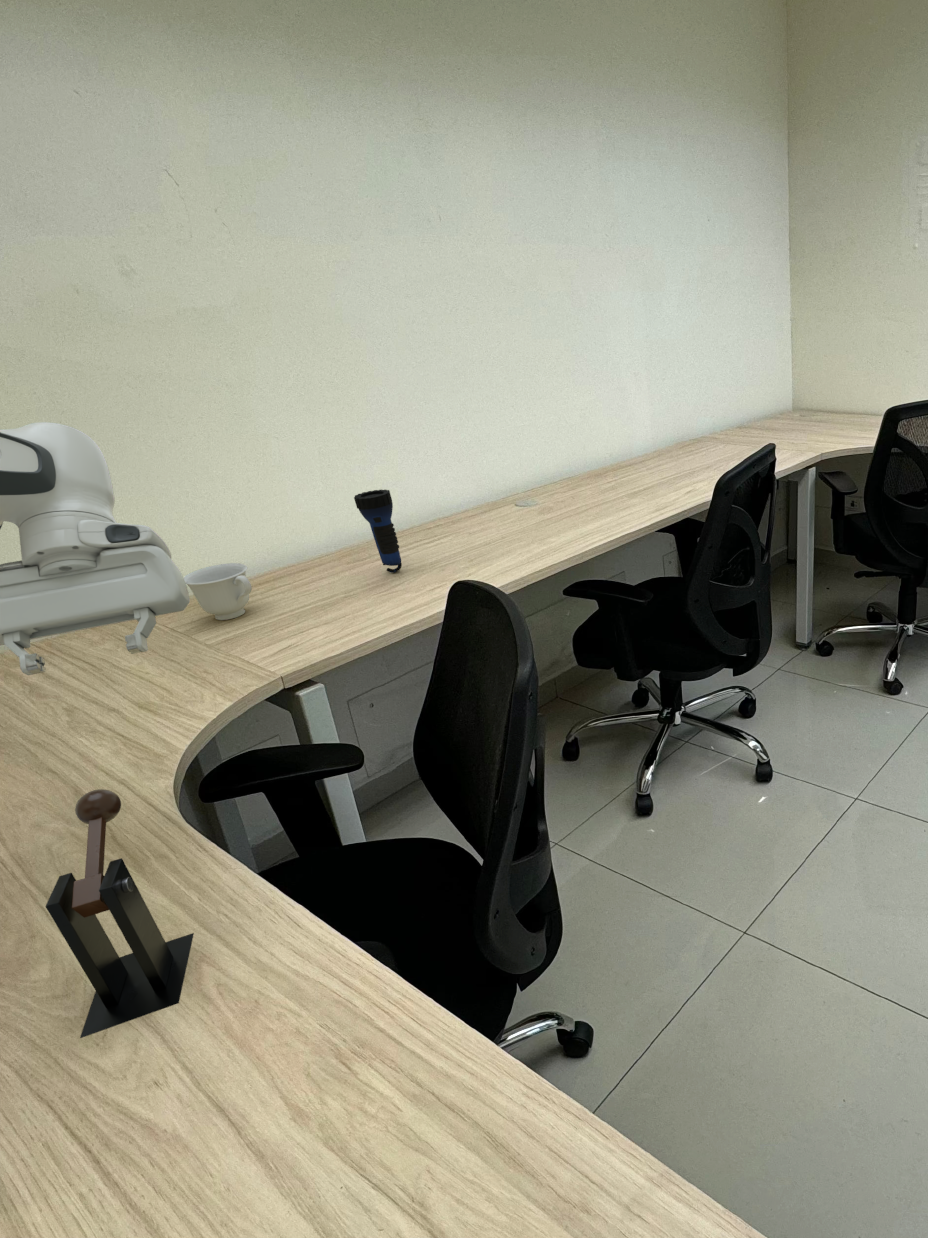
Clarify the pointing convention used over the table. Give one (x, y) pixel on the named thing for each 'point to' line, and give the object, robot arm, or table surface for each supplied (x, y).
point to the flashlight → (381, 524)
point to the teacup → (221, 589)
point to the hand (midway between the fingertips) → (86, 661)
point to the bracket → (117, 980)
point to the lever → (94, 849)
